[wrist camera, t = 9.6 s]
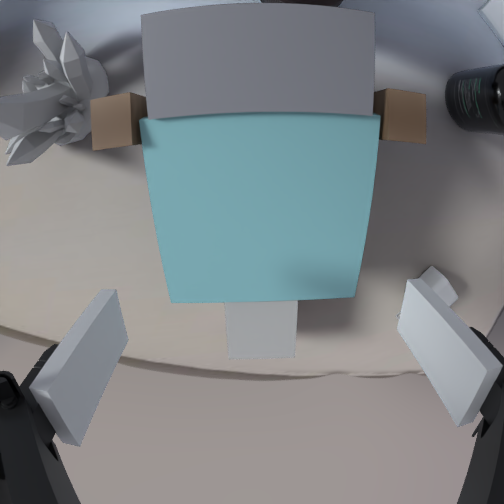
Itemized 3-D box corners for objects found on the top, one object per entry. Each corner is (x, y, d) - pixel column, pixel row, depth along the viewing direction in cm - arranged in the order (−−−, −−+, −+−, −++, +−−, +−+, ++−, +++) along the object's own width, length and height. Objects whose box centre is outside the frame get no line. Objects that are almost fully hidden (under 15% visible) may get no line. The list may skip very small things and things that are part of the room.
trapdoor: (153, 26, 16) (128, 17, 12) (357, 23, 16) (386, 15, 12) (181, 267, 27) (169, 307, 23) (340, 262, 27) (356, 301, 22)
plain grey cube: (228, 359, 28) (232, 318, 35) (294, 357, 28) (287, 317, 35) (224, 302, 26) (229, 268, 33) (297, 300, 26) (288, 266, 33)
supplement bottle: (488, 83, 25) (562, 79, 14) (485, 138, 27) (561, 151, 16) (443, 63, 25) (518, 47, 14) (441, 122, 27) (518, 127, 16)
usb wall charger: (443, 284, 34) (460, 300, 30) (402, 322, 36) (415, 341, 32) (429, 263, 33) (446, 278, 29) (386, 304, 35) (399, 322, 31)
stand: (153, 101, 27) (90, 83, 15) (356, 97, 27) (424, 78, 14) (155, 152, 28) (94, 168, 16) (357, 147, 28) (425, 160, 16)
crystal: (122, 32, 24) (40, -21, 10) (100, 159, 29) (2, 186, 15) (45, 39, 23) (-48, 13, 9) (27, 153, 28) (-73, 179, 14)
